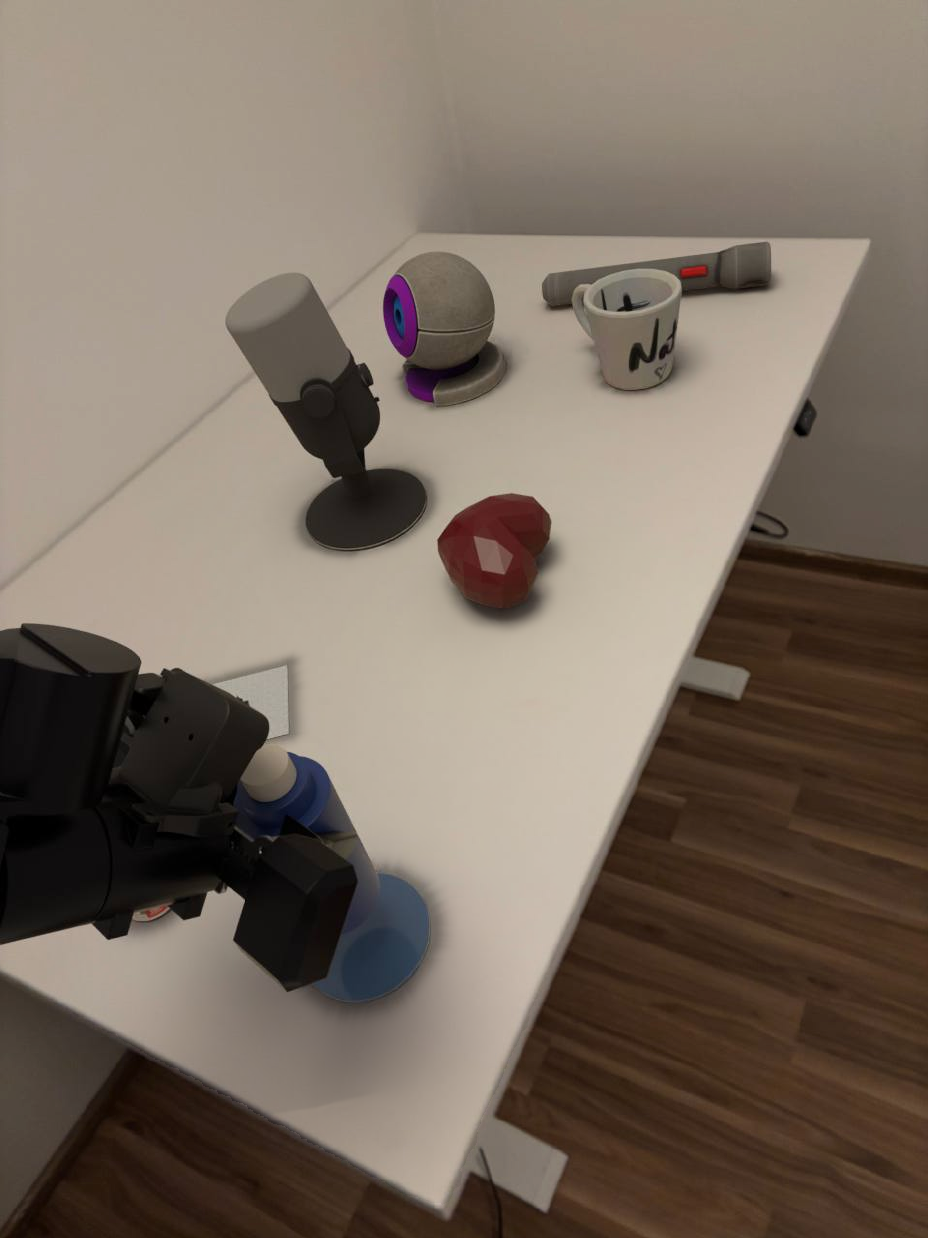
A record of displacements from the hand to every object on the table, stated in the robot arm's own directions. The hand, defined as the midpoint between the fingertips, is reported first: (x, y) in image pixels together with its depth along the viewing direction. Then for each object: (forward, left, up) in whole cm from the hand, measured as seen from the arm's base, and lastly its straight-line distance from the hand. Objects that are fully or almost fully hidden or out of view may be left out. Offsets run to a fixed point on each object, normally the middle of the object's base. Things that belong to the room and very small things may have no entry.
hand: (320, 818), depth 54 cm
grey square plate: (+9, +23, -13) cm, 27 cm away
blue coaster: (-1, 0, -12) cm, 13 cm away
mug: (+68, +19, -13) cm, 71 cm away
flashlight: (+84, +24, -13) cm, 88 cm away
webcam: (+60, +38, -13) cm, 72 cm away
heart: (+32, +12, -13) cm, 36 cm away
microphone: (+35, +31, -13) cm, 48 cm away
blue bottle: (-1, 0, -7) cm, 7 cm away
